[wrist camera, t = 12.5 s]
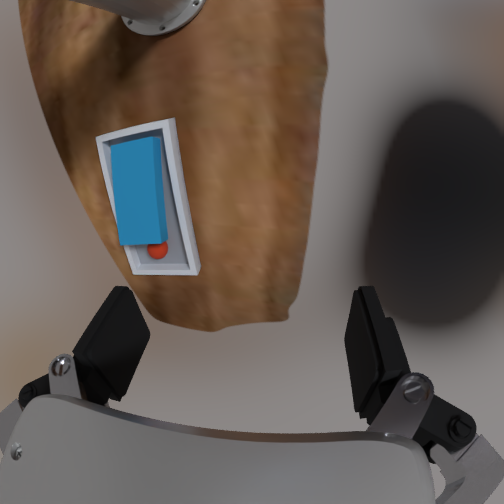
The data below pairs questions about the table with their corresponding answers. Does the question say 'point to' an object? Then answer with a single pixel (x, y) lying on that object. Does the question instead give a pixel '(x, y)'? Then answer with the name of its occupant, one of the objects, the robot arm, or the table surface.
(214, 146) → the table surface
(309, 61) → the table surface
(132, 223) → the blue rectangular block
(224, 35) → the table surface
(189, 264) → the tray
